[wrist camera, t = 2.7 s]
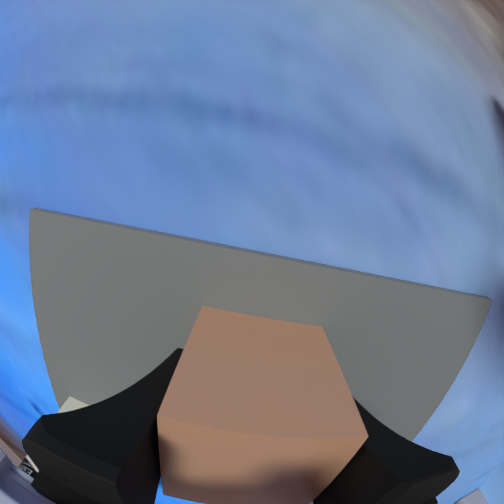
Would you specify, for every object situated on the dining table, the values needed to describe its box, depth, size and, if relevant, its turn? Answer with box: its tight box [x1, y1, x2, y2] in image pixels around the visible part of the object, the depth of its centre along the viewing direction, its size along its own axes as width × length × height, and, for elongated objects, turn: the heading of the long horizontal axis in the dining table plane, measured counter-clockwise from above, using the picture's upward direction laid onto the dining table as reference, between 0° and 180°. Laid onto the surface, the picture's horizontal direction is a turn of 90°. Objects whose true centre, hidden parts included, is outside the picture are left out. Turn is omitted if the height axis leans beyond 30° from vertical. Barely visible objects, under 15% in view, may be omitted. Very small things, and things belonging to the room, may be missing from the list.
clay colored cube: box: [157, 306, 369, 504], centre depth 8 cm, size 5×5×6 cm
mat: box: [29, 208, 492, 442], centre depth 13 cm, size 18×25×1 cm
